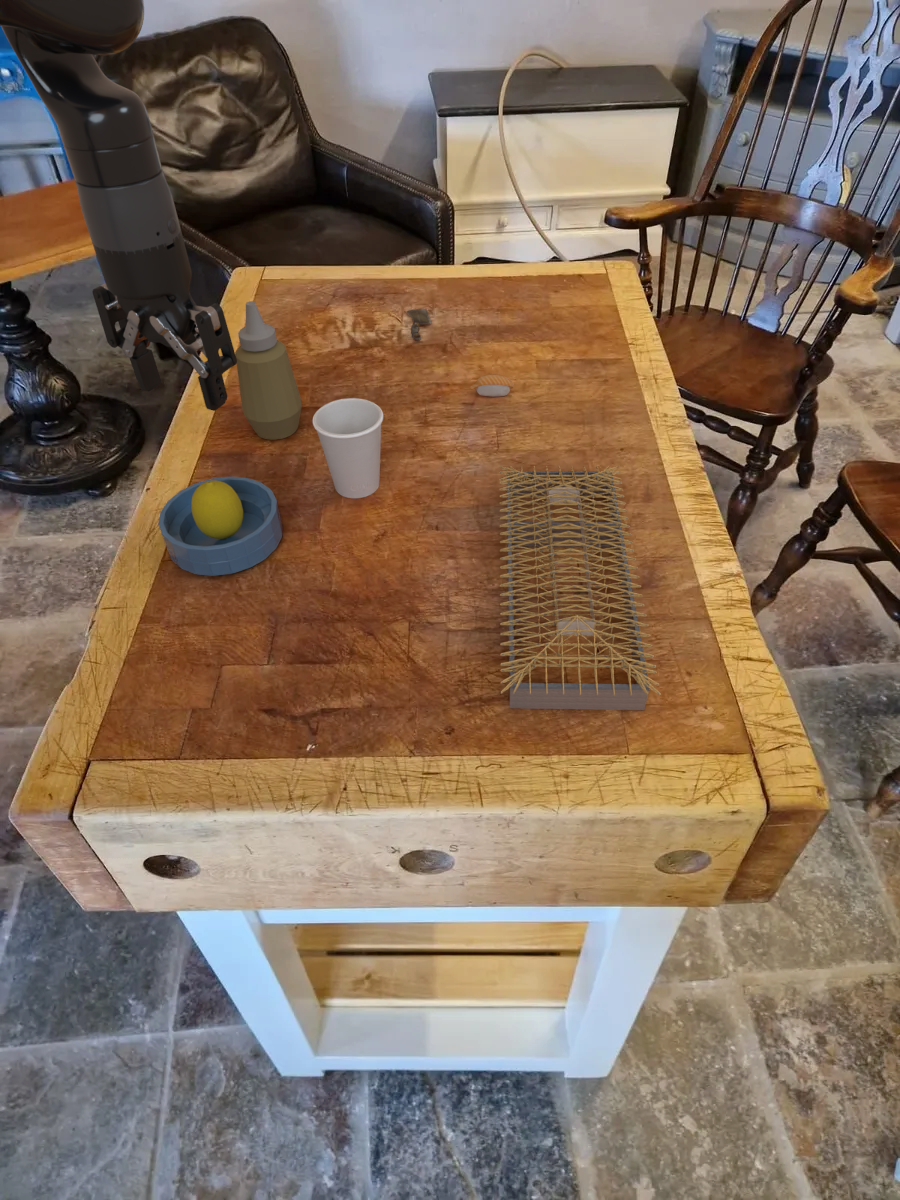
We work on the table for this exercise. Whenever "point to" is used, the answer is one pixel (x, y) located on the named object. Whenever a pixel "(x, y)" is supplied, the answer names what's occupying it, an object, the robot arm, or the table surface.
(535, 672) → the table surface
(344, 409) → the dixie cup
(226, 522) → the lemon
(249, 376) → the squeeze bottle
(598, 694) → the rafter model
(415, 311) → the grey post
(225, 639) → the table surface
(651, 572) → the table surface
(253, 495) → the bowl
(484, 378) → the sushi
